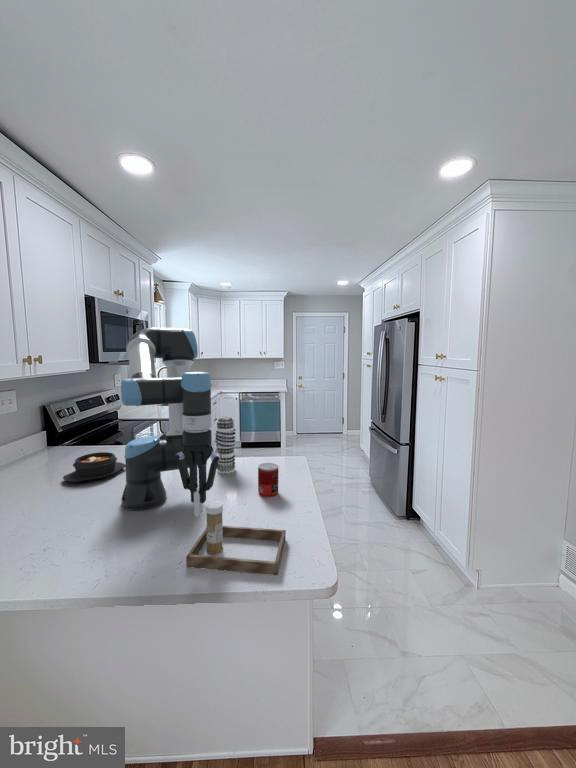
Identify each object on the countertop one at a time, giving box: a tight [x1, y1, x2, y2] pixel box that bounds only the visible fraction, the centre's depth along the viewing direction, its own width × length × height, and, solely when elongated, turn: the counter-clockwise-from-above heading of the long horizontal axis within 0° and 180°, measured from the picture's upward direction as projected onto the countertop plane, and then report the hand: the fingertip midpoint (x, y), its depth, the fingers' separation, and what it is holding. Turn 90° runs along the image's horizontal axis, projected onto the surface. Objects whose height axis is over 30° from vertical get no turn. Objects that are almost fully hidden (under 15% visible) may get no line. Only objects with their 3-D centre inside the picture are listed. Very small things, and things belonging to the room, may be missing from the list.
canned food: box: [257, 462, 279, 498], centre depth 129 cm, size 8×8×11 cm
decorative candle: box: [215, 416, 237, 475], centre depth 152 cm, size 9×9×25 cm
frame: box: [185, 525, 287, 576], centre depth 90 cm, size 24×16×3 cm, turn 83°
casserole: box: [62, 451, 126, 483], centre depth 146 cm, size 25×19×8 cm
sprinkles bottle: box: [205, 500, 224, 556], centre depth 91 cm, size 5×5×13 cm
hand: (198, 513), depth 91 cm, fingers closed
